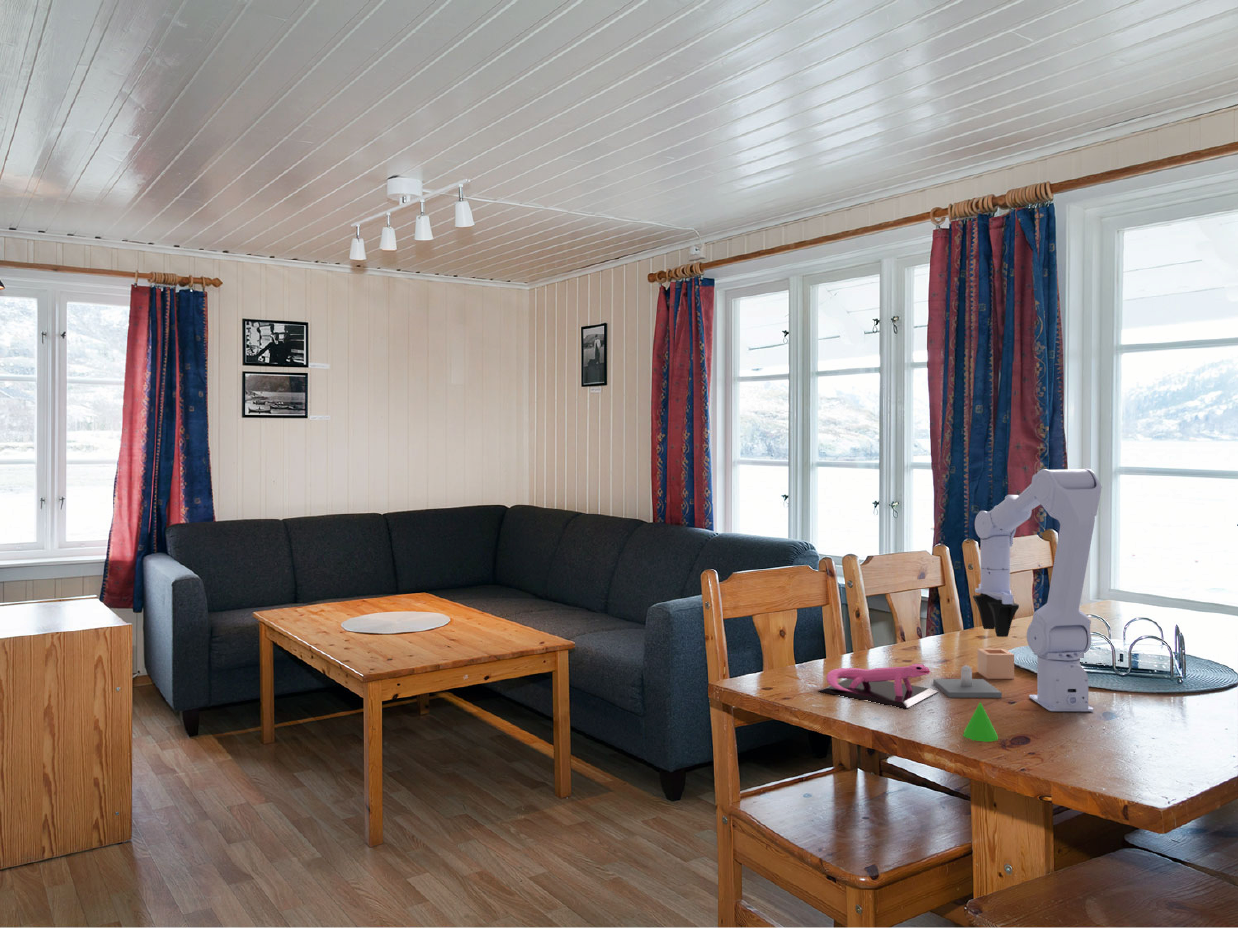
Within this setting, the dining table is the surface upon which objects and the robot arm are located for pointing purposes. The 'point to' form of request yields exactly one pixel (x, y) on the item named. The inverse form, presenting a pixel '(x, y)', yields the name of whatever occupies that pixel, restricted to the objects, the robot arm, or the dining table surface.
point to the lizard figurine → (880, 685)
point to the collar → (995, 663)
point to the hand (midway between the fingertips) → (995, 632)
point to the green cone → (980, 727)
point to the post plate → (967, 686)
